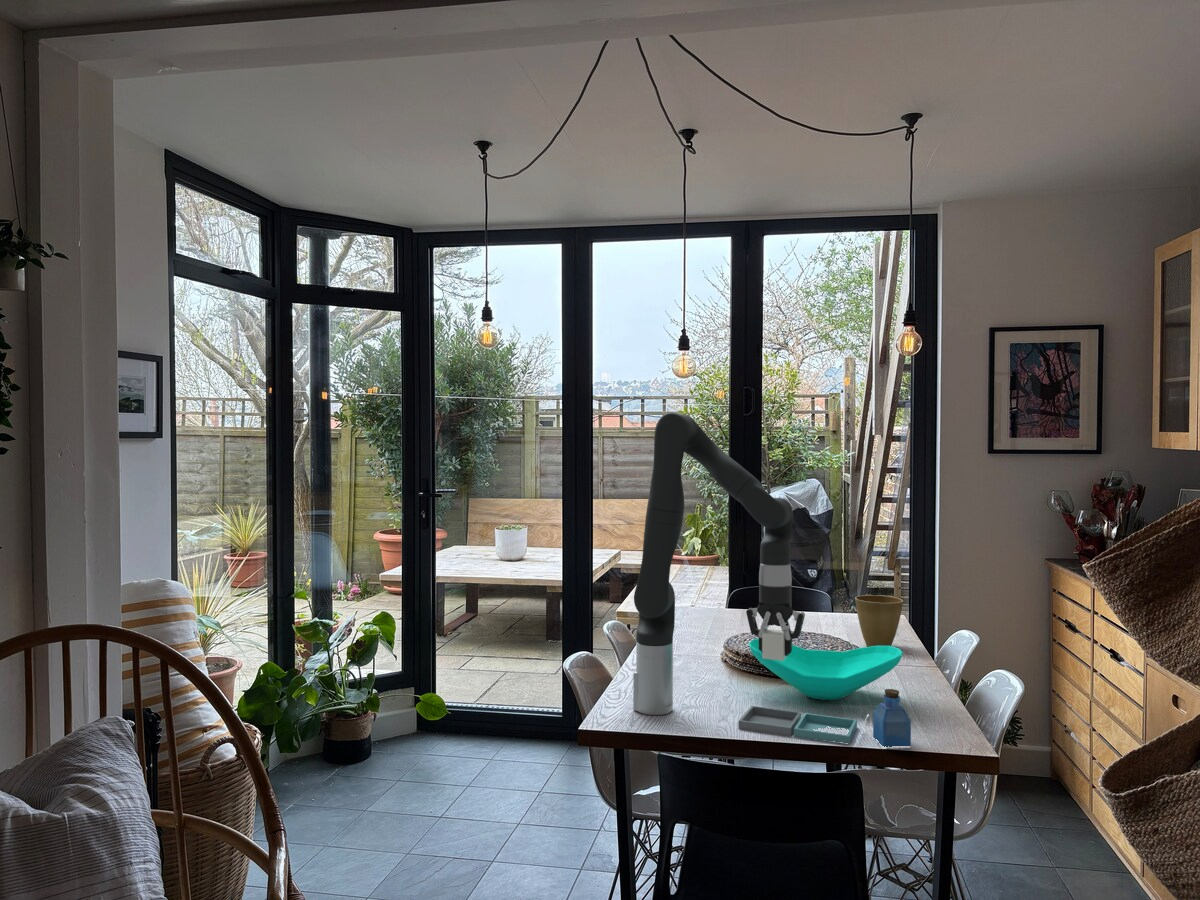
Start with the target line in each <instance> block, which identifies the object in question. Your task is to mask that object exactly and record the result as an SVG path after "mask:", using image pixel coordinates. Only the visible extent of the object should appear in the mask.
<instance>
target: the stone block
mask: <svg viewBox="0 0 1200 900" xmlns="http://www.w3.org/2000/svg"><path fill="white" fill-rule="evenodd" d="M785 640H786V638H785V634H784V633H783V631H782V629H776V628H775V629H774V628H768V629H767V630H766V631H765V632H763V633H762V658H763V659H773V660H782V661H784V660H785V658H786V657H787V656H785Z"/></svg>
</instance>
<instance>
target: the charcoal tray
mask: <svg viewBox="0 0 1200 900" xmlns="http://www.w3.org/2000/svg"><path fill="white" fill-rule="evenodd" d="M801 717H802V712H801V711H794V710H786V709H780V708H779V709H778V708H771V707H765V706H757V705H751V706H750V707H749V708H748V709H747V710H746V711H745V712H744V713H743V715H742V716H741V717H740V718H739V719H738V722H737V723H738V724H737V726H738V729H739V730H740V729H741V730H746V731H753V732H758V733H759V732H760V733H765V734H766V733H767V734H774V735H779V736H787V737H792V734H794V728H795V726H796V725H797V723H798V722H799V720H800V719H801Z"/></svg>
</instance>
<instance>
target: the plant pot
mask: <svg viewBox="0 0 1200 900" xmlns="http://www.w3.org/2000/svg"><path fill="white" fill-rule="evenodd" d="M854 601H855V607H856V612H857V618H858V622H859V627H860V631H861V634H862V638H863V640H864V643H865V647H871V646H893V642H894V640H895V637H896V634H897V630H898V627H899V625H900V621H901V620H900V619H901V614H902V611H903V606H904V605H903V603H904V600H903V599H901V598H899V597H895V596H890V595H889V596H888V595H877V594H875V595H874V594H872V595H871V594H869V595H868V594H866V595H857V596H855V598H854Z"/></svg>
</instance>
